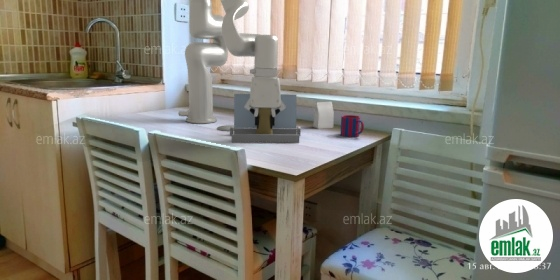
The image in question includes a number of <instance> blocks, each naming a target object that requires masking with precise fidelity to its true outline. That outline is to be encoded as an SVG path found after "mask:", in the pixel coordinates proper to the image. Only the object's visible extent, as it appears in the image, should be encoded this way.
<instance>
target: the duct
mask: <svg viewBox="0 0 560 280" xmlns="http://www.w3.org/2000/svg"><path fill="white" fill-rule="evenodd" d="M256 129H257V128H234V126H230V131H229V135H230V136H231V143H264V144H265V143H271V144H272V143H273V144H274V143H276V144H278V143H284V144H285V143H286V144H287V143H289V144H292V143H293V144H294V143H295V144H296V143H297V144H299V143H300V137H301V134H302V133H301V130H302V129H301V126H296V128H272V132H273V134H256Z"/></svg>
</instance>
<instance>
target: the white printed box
mask: <svg viewBox="0 0 560 280" xmlns="http://www.w3.org/2000/svg"><path fill="white" fill-rule="evenodd" d="M333 107H334V106H333V101H317V102H316V105H315V107H314V111H313V128H316V129H317V130H320V129H331V128H332V129H333V128H334V122H335V121H334V120H335V118H334V117H335V112H334V108H333Z"/></svg>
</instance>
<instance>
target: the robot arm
mask: <svg viewBox="0 0 560 280" xmlns="http://www.w3.org/2000/svg"><path fill="white" fill-rule="evenodd" d="M220 2H221V5H222V8H223V10H224V13H225V14H224V16H223V15H219V14H213V2H212V0H189V12H188V13H189V14H188V15H189V18H188V19H189V20H188V22H189V23H188V24H189V25H188V26H189V27H188V28H189V34H190V36H191V37H192V38H195V39H199V40H212V42H203V41H202V42H192V43H189V44H188V45H187V46H185V49H184V57H185V63H186V67H187V76H188V77H187V79H188V80H187V81H188V105H189V107H188V109H189V110H186V111H183V110H179V111H178V116H179V117H186V118H185V121H186V123H189V124H212V123H215V122H217V121H218V117H216V116H214V106H213V105H214V104H213V103H214V99H213V95H214V94H213V76H212V74H211V72H210V71H209V69H208V68H209V67H213V68H214V67H222V66H225V64H226V63H227V61H228V58H229V53H230V54H231V55H232V56H234V57H243V58H244V57H248V58H249V57H251V58H253V59H254V65H253V66H254V68H251V69H249V74H250V75H251V74H252V75H254V76H253V77H251V81H250V87H249V88H250V89H249V94H250V98H249V100H248V101H247V103H246V104H245V106H244V107H245V108H246V109H247V110H249V111H250V112H251V113H252V114H253V115H254V116H255V125H256V126H257V128H258V126H259V114H258V109H259V108H271V112H272V114H271V118H270V127H271V129H272V126H274V125H275V116H276V115H277V114H278V113H279V112H280V111H282V110H284V109H285V108H286V107H285V105H284V103H283V102H282V100H281V93H282V92H281V81H280V77H278V59H279V57H278V53H279V51H278V50H279V49H278V48H279V46H278V45H279V39H278V37H277V36H276V35H274V34H259V33H241V32H239V31H238V29H237V28H238V27H236V23H235V21H236V20H238V19H240V18H242V17H244V16H245V15H246V14H247V13H248V12H249V9H250V4H249V3H248V0H220ZM249 105H250V106H251V107H250V106H249ZM280 105H281V106H280ZM252 107H253V108H255V110H254V109H253V108H252ZM278 107H279V108H278ZM275 108H277V109H276V110H275Z"/></svg>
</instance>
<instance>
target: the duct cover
mask: <svg viewBox="0 0 560 280" xmlns="http://www.w3.org/2000/svg"><path fill="white" fill-rule="evenodd" d="M249 98H250V93H234V100H233V101H234V102H233V103H234V105H233V106H234V108H233V110H234V111H233V125H234V128H257V126H256V125H255V116H254V115H253V114H252V113H251V112H250V111H249V110H247V109H246V108H245V107H244V106H245V104H246V103H247V101H248V100H249ZM281 100H282V102H283V103H284V105H285V107H286V108H285V109H284V110H282V111H280V112H279V113H278V114H277V115H276V116H275V125H274V126H272V128H297V94H293V93H292V94H288V93H287V94H283V93H282V94H281ZM249 106H250V105H249ZM280 106H281V105H280ZM250 107H251V106H250ZM252 108H253V107H252ZM278 108H279V107H278ZM253 109H254V110H255V108H253ZM276 109H277V108H275V110H276Z"/></svg>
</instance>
